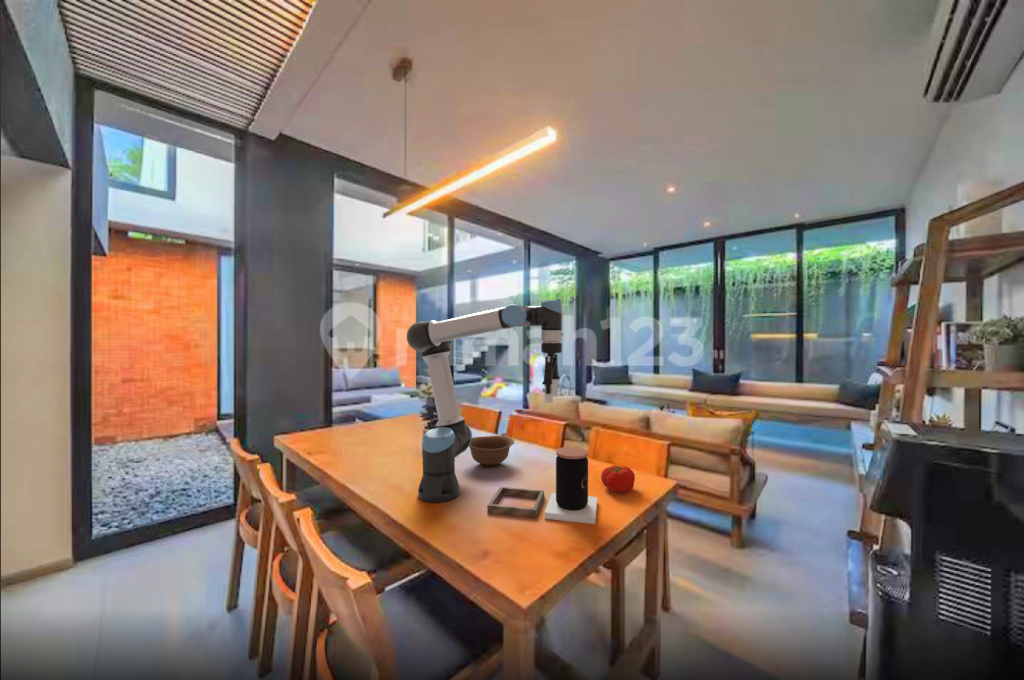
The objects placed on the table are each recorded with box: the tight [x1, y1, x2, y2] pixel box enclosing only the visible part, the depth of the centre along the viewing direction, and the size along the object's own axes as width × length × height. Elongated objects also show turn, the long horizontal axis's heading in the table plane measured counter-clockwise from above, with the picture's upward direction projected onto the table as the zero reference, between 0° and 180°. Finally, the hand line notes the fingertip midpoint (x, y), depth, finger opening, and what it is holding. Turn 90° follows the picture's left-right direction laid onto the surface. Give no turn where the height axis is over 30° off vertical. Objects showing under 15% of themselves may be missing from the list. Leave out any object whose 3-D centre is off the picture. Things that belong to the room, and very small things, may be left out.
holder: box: [486, 485, 545, 519], centre depth 143 cm, size 16×16×2 cm
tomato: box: [600, 465, 636, 494], centre depth 155 cm, size 14×13×9 cm
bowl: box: [468, 435, 515, 469], centre depth 184 cm, size 22×22×11 cm
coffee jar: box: [555, 446, 589, 511], centre depth 138 cm, size 11×11×18 cm
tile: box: [544, 492, 598, 525], centre depth 139 cm, size 16×16×2 cm
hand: (551, 399), depth 153 cm, fingers open, 13 cm apart
